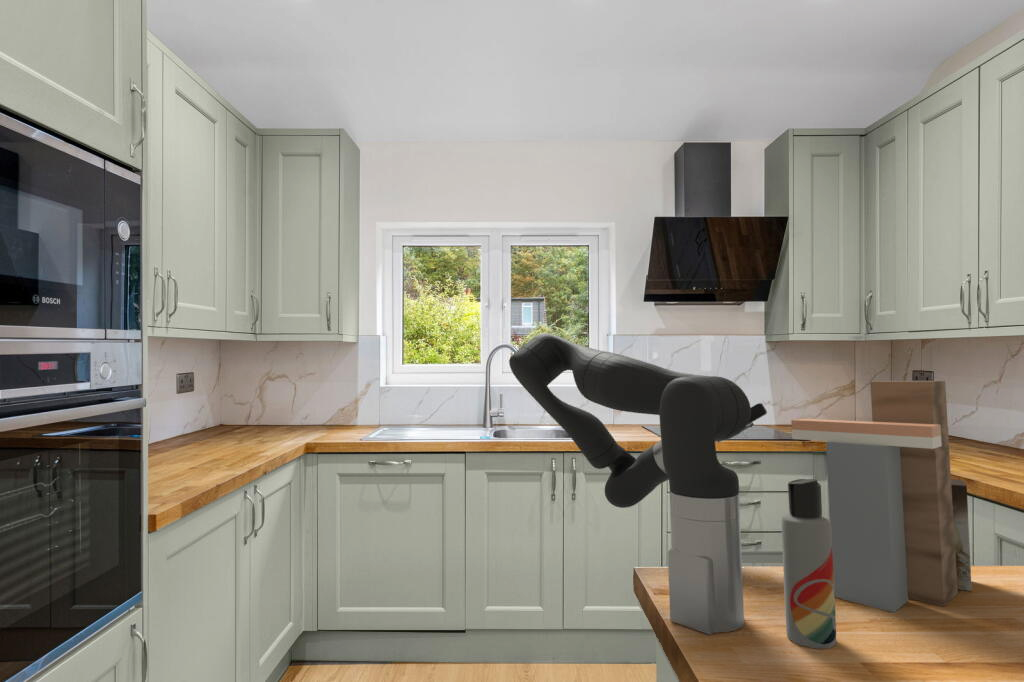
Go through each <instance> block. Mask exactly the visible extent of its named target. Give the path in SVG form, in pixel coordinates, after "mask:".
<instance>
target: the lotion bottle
mask: <svg viewBox="0 0 1024 682" xmlns="http://www.w3.org/2000/svg"><path fill="white" fill-rule="evenodd" d="M787 490H788V491H787V494H788V510H789V511H788V512H789V513H785V514H783V515H782V516H781V543H782V544H781V545H782V547H781V548H782V564H783V565H782V566H783V589H784V590H783V591H784V592H783V593H784V609H785V610H784V612H785V613H784V614H785V615H784V616H785V631H786V636H787V637H788V639H789V640H790V641H791V642H793V643H795V644H797V645H800V646H801V647H805V648H809V649H810V648H811V649H818V650H821V649H822V650H824V649H831V648H833V647H834V646H835V645H836V644H837V621H836V619H837V618H836V602H835V601H836V600H835V598H836V597H835V595H834V574H833V553H832V533H831V521H830V518H828V517H827V516H823V509H822V507H823V506H822V486H821V484H820V483H819V482H818V479H815V478H814V479H813V478H810V479H809V478H807V479H805V478H804V479H803V478H801V479H794V480H791V481H789V482H788V483H787Z"/></svg>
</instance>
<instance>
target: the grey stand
mask: <svg viewBox="0 0 1024 682" xmlns="http://www.w3.org/2000/svg"><path fill="white" fill-rule="evenodd" d="M825 447H826V448H825V451H826V472H827V488H828V489H827V490H828V491H827V492H828V496H827V497H828V510H829V511H828V513H829V518H828V519H829V520H830V521H831V533H832V553H833V574H834V595H835V598H836V599H837V598H838V599H840V600H844V601H848V602H853V603H856V604H860V605H864V606H868V607H871V608H876V609H880V610H883V611H888V612H891V613H896V611H898V610H899V609H900V608H902V607H903V606H904V605H906V604H907V603H908V602H909V598H908V588H907V569H906V551H905V533H904V514H903V496H902V477H901V459H900V446H886V445H872V444H858V443H844V442H830V441H825Z"/></svg>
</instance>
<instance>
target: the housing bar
mask: <svg viewBox="0 0 1024 682" xmlns="http://www.w3.org/2000/svg"><path fill="white" fill-rule="evenodd" d="M790 423H791V439H792V440H804V441H805V440H806V441H814V442H815V441H817V442H818V441H819V442H820V441H821V442H828V441H830V442H844V443H858V444H872V445H886V446H901V447H915V448H929V449H934V448H937V447H941V446H942V443H941V426H940V425H936V424H914V423H891V422H872V421H867V420H861V421H860V420H843V419H842V420H840V419H819V418H817V419H815V418H797V419H791V421H790Z"/></svg>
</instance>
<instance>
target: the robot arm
mask: <svg viewBox="0 0 1024 682" xmlns="http://www.w3.org/2000/svg"><path fill="white" fill-rule="evenodd" d="M508 363H509V368H510V370H511V372H512V373H513V374H512V375H514V377H515V378H516V379H517V381H518V382H519V384H520V385H521V386H522V387H523V388H524V389H525V390H526V391H527V393H528V394H529V395H530V396H531V397H532V398H533V399H534V400H535V402H537V403H538V404H539V405H540V407H541V408H542V409H543V410H544V411H545V412H546V413H547V414H548V415H549V416H550V417H551V418H552V419H553V420H554V421H555V422H556V423H557V424H558V426H560V427H561V428H562V430H564V431H565V432H566V434H567V435H568V436H569V437H570V438H571V440H572V441H573V442H574V444H575V445H576V446H577V448H578V449H579V450H580V452H581V453H582V455H583V456H584V457H585V458H586V460H587V461H588V463H589V464H590V465H591V466H592V467H593V468H595V469H598V470H601V469H606V468H608V469H610V472H611V473H610V474H609V477H608V479H606V483H605V485H604V496H605V498H606V500H607V502H608V503H610V504H611V505H612V506H614V507H617V508H620V509H621V508H622V509H626V508H631V507H633V506H635V505H637V504H638V503H640V502H641V501H643V500H644V499H645V498H647V496H648V495H649V494H651V493H652V492H653V491H654V490H655V489H656V488H657V487H658V486H659V485H661V484H663V483H664V482H666V481H668V483H669V484H668V485H669V487H668V488H669V514H670V517H669V518H670V519H669V520H670V547H671V548H670V549H669V550H668V551H667V559H668V560H667V561H668V564H667V565H668V595H669V600H668V602H669V620H670V621H671V622H673V623H676V624H679V625H682V626H685V627H687V628H690V629H692V630H696V631H699V632H701V633H704V634H706V635H713V634H714V633H727V632H732V631H736V630H739V629H741V628H742V627H744V623H745V615H744V614H745V613H744V612H745V611H744V588H743V587H744V586H743V585H744V583H743V563H742V561H743V560H742V559H743V557H742V541H741V540H742V537H741V511H740V508H741V507H740V506H741V505H740V483H739V481H740V480H739V476H738V473H737V472H736V471H734V470H733V469H730V468H728V467H725V466H723V464H721V463H720V462H719V459H718V456H717V447H716V442H717V443H718V444H719V443H722V442H725V441H726V440H730V439H732V438H734V437H736V436H737V435H739V434H741V433H742V432H744V431H745V430H747V429H749V428H752V427H753V426H755V424H754V422H755V421H757V420H758V419H760V418H762V417H764V416H766V414H767V413H768V411H767V409H766V408H765V405H763V403H761V402H760V403H756V404H755V405H753V406H751V404H750V400H749V398H748V395H746V393H745V392H744V391H743V389H742V388H741V387H740V386H739V385H738V384H737V383H735V382H734V381H732V380H730V379H729V378H726V377H722V376H718V375H717V376H715V375H712V376H711V375H701V374H692V373H685V372H678V371H675V370H670V369H669V368H668V369H667V368H664V367H661V366H658V365H656V364H653V363H649V362H646V361H644V360H640V359H636V358H633V357H630V356H626V355H624V354H623V355H622V354H617V353H614V352H610V351H605V350H599V349H596V348H592V347H589V346H585V345H582V344H581V345H580V344H578V343H575V342H572V341H570V340H568V339H565V338H563V337H560V336H558V335H555V334H552V333H548V332H542V333H539V334H537V335H535V336H533V337H532V338H531V339H530V340H529V341H527V343H525V344H524V345H523V346H521V347H520V348H519V349H517V350H516V351H515V352H514V353H513V354H511V355H510V357H509V360H508ZM565 371H572V375H573V381H574V382H575V385H576V388H577V390H578V391H579V393H580V394H581V396H583V397H584V398H585V399H586V400H588V401H590V402H592V403H594V404H597V405H600V406H603V407H605V408H608V409H610V410H615V411H619V412H627V413H635V414H644V415H645V414H646V415H655V416H659V427H660V440H659V441H657V442H656V443H654V445H652V446H650V447H649V448H646V449H644V451H642V452H641V453H640V454H639V455H638V456H637V457H634V456H633V455H632V454H631V453H630V452H629V451H627V450H626V449H625V448H624V447H622V446H621V445H619V444H618V442H617V441H616V440H615V439H614V437H613V436H612V434H611V433H610V431H609V430H608V429H607V427H606V425H605V424H604V423H603V422H602V420H600V418H598V417H597V416H596V415H594V414H592V413H591V412H588V411H586V410H584V409H581V408H579V407H577V406H573V405H572V404H569V403H567V402H565V401H563V400H561V399H560V398H559V397H558V396H556V395H555V394H554V393H553V392H552V391H551V390H550V388H549V387H548V385H550V384H551V383H552V382H554V380H556V379H557V378H558V377H559V376H560V375H561V374H563V373H564V372H565Z"/></svg>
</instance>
